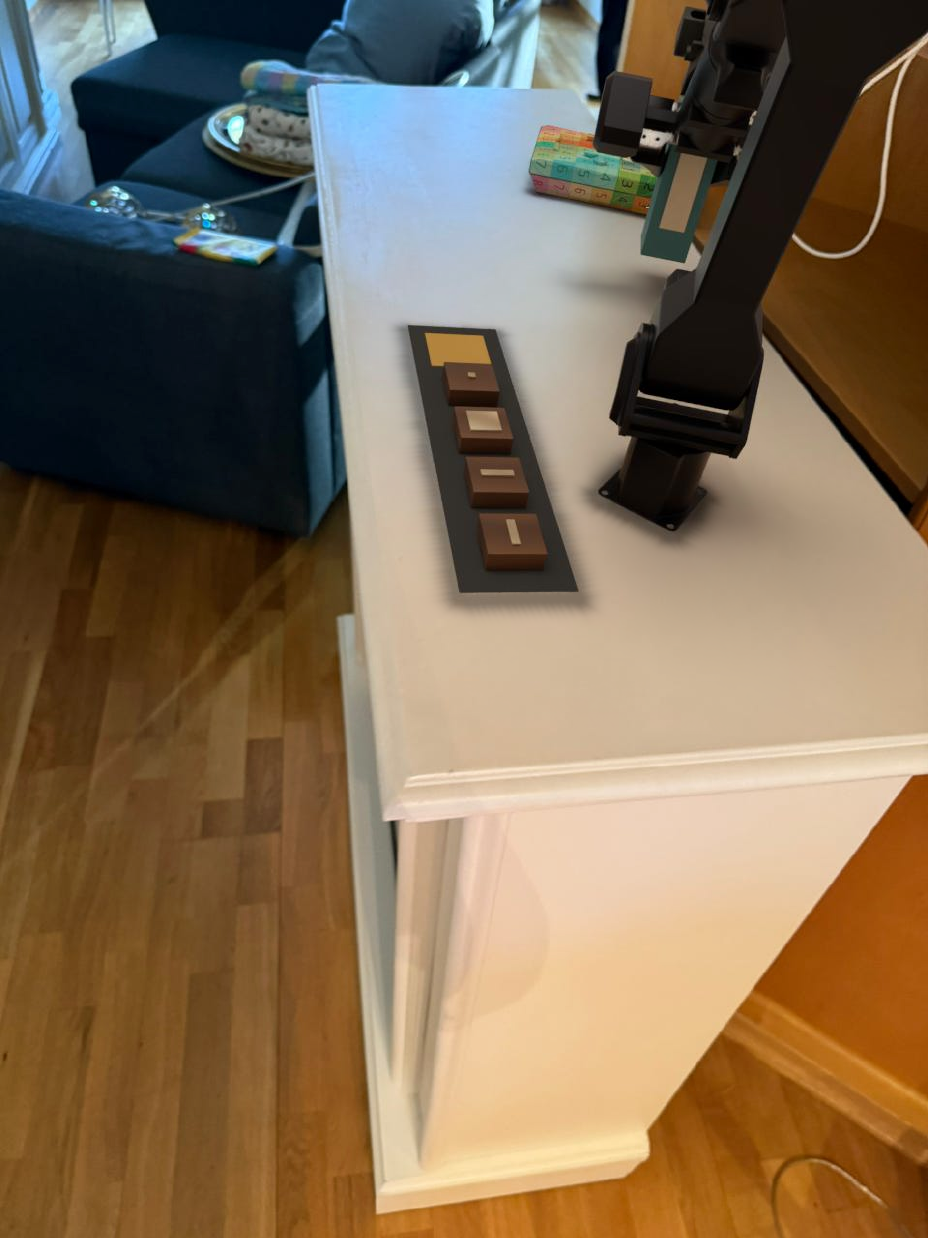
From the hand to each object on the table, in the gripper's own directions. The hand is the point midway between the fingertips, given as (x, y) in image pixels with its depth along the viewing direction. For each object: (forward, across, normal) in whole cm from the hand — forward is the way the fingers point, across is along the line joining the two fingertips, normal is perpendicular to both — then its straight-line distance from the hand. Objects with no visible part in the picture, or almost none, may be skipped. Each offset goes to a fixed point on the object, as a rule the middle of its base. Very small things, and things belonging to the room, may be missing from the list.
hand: (682, 176), depth 86 cm
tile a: (-26, +10, +40) cm, 49 cm away
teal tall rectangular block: (+4, 0, +6) cm, 7 cm away
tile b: (-22, +12, +36) cm, 44 cm away
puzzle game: (+22, +5, -7) cm, 24 cm away
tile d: (-14, +15, +27) cm, 34 cm away
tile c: (-18, +14, +32) cm, 39 cm away
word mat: (-18, +14, +32) cm, 39 cm away
